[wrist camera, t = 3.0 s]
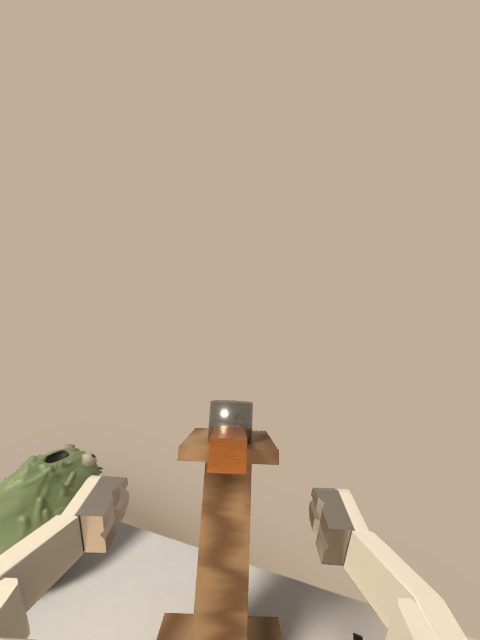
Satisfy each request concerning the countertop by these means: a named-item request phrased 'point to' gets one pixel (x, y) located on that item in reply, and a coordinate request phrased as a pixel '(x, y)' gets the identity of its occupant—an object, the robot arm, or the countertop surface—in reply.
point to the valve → (357, 637)
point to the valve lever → (229, 436)
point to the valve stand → (223, 552)
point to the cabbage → (41, 491)
